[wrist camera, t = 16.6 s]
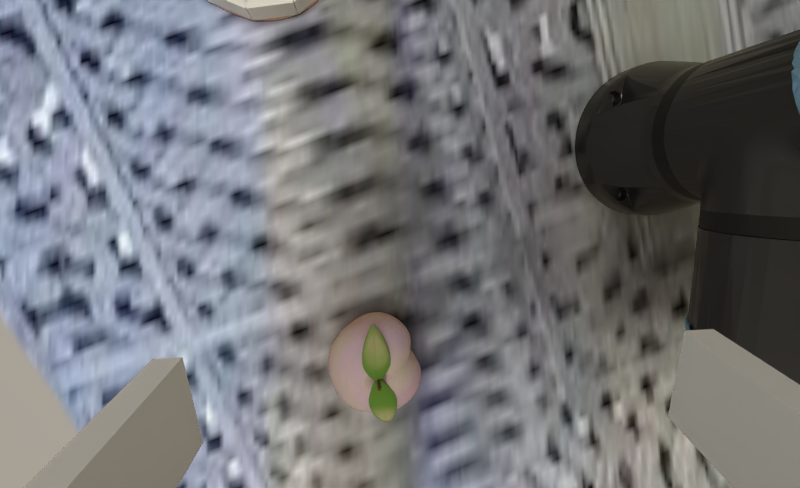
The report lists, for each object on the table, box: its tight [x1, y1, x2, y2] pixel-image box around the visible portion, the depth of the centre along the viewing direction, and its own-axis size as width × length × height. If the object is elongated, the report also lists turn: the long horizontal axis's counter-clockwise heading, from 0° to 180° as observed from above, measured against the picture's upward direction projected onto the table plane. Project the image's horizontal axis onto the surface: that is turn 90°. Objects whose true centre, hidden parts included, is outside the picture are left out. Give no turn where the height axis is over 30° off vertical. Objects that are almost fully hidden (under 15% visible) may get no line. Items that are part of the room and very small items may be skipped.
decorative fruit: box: [328, 312, 421, 422], centre depth 37 cm, size 9×8×10 cm
